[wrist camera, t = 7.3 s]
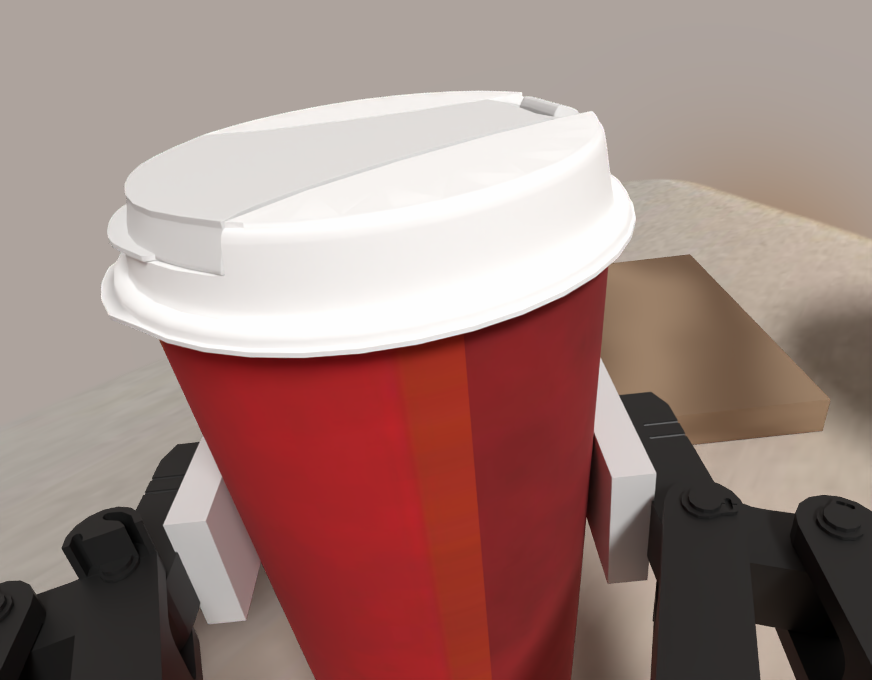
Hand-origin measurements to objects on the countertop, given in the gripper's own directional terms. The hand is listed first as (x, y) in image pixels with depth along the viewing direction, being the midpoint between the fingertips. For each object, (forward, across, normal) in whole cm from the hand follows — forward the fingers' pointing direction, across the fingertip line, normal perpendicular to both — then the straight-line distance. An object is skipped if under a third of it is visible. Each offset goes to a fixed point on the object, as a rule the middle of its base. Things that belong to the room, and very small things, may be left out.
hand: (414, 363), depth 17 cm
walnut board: (+12, +6, -8) cm, 15 cm away
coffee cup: (-4, 0, -8) cm, 9 cm away
